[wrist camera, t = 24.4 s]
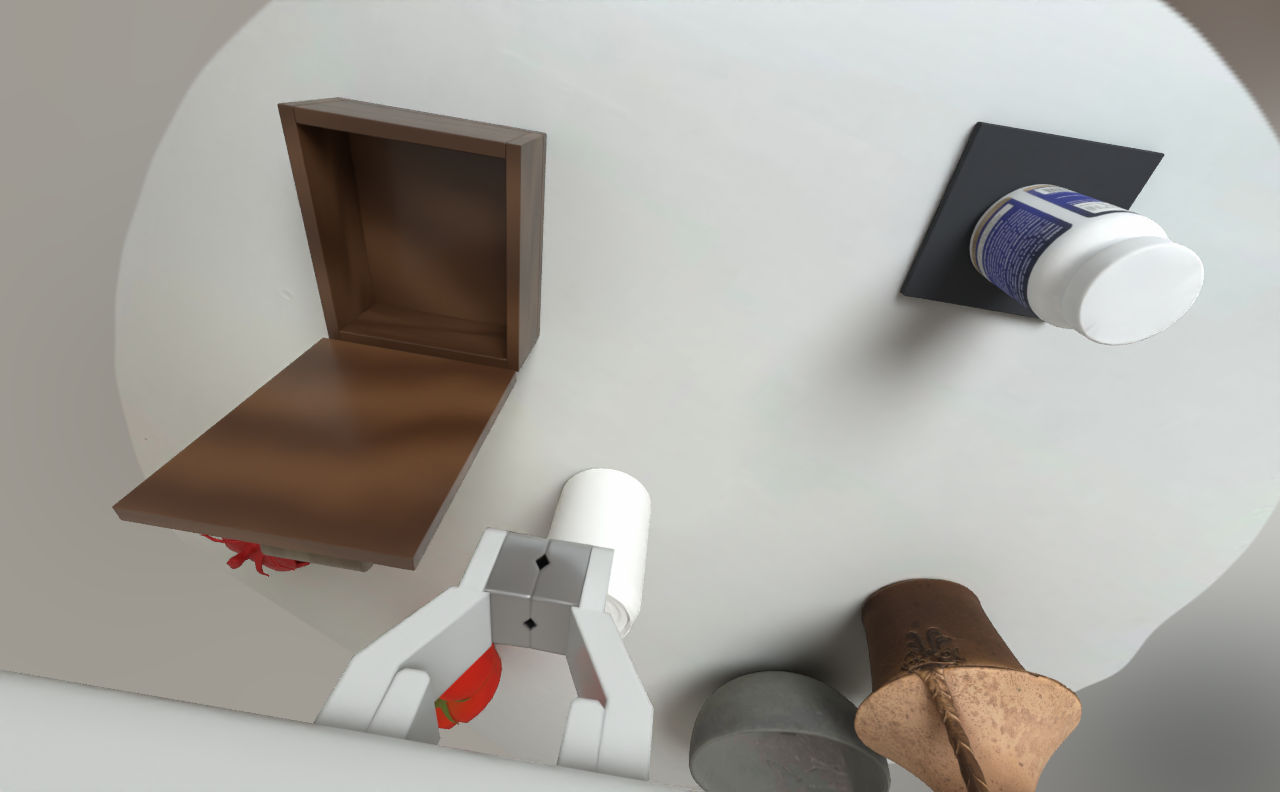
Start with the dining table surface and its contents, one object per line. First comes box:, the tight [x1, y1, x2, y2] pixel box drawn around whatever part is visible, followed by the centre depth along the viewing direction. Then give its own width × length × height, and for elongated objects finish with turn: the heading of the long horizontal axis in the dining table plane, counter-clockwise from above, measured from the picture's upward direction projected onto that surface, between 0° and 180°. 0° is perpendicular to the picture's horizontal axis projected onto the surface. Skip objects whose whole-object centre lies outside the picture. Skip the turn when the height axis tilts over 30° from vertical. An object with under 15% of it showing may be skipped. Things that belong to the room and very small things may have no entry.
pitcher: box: [854, 579, 1081, 792], centre depth 39 cm, size 18×17×28 cm
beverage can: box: [547, 468, 651, 638], centre depth 41 cm, size 8×8×12 cm
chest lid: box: [113, 338, 516, 572], centre depth 28 cm, size 14×13×5 cm
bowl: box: [689, 671, 891, 792], centre depth 57 cm, size 20×20×10 cm
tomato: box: [434, 643, 502, 729], centre depth 58 cm, size 13×12×8 cm
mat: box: [901, 122, 1164, 319], centre depth 31 cm, size 10×10×1 cm
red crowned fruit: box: [201, 534, 310, 577], centre depth 46 cm, size 10×10×9 cm
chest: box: [278, 97, 546, 372], centre depth 32 cm, size 14×13×5 cm
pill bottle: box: [970, 184, 1204, 345], centre depth 26 cm, size 6×6×10 cm
